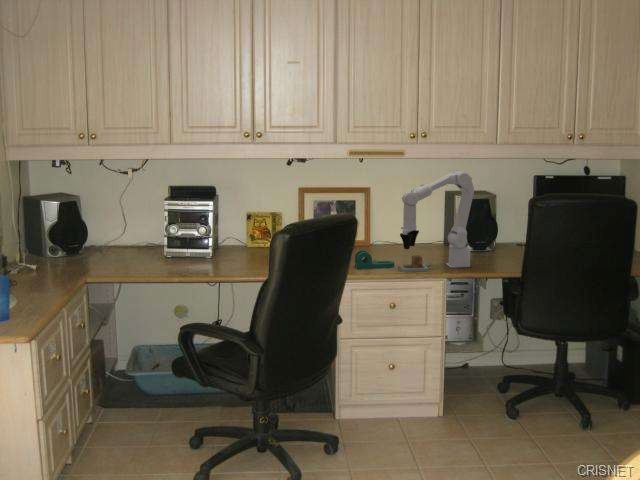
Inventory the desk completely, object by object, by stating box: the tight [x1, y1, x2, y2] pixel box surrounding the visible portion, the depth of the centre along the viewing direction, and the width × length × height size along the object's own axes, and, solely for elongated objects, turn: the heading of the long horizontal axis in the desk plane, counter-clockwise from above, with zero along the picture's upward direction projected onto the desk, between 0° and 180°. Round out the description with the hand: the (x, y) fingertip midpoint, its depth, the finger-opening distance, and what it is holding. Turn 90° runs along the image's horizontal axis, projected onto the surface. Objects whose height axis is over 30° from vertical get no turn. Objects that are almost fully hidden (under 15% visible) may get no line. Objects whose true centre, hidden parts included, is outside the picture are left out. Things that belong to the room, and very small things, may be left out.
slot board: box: [398, 263, 430, 273], centre depth 318 cm, size 12×9×1 cm
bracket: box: [354, 249, 395, 270], centre depth 322 cm, size 18×7×8 cm, turn 98°
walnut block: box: [411, 255, 423, 268], centre depth 318 cm, size 4×4×6 cm
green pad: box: [422, 262, 431, 267], centre depth 327 cm, size 6×6×1 cm
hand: (409, 247), depth 319 cm, fingers open, 7 cm apart
